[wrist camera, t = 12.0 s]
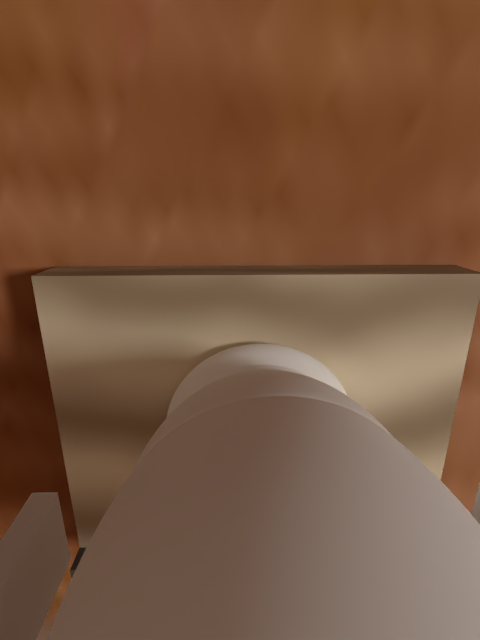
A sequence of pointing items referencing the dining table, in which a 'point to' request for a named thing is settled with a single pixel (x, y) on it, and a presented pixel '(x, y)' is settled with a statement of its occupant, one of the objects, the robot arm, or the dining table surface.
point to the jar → (275, 521)
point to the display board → (235, 330)
